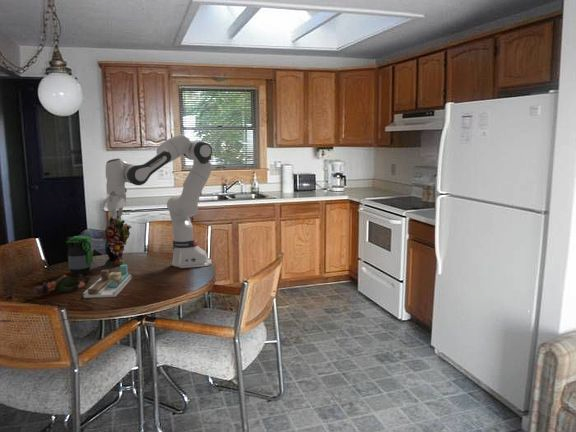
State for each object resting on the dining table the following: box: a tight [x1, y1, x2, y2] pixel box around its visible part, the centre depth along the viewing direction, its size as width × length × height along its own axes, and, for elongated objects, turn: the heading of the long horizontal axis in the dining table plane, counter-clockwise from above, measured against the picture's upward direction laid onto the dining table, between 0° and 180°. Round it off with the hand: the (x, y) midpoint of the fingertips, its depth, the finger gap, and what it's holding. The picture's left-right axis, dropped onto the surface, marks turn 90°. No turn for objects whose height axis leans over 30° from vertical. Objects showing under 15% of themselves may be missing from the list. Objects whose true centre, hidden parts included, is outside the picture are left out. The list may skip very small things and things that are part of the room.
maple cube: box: [109, 271, 122, 284], centre depth 221 cm, size 4×4×4 cm
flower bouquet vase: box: [104, 212, 132, 268], centre depth 261 cm, size 15×15×30 cm
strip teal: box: [109, 264, 130, 287], centre depth 227 cm, size 4×20×6 cm, turn 4°
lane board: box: [82, 274, 132, 299], centre depth 222 cm, size 14×28×2 cm, turn 4°
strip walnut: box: [87, 269, 110, 294], centre depth 218 cm, size 4×20×6 cm, turn 4°
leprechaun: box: [33, 274, 90, 296], centre depth 217 cm, size 11×10×25 cm
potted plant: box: [65, 235, 93, 276], centre depth 245 cm, size 11×13×20 cm
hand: (117, 217), depth 238 cm, fingers open, 8 cm apart
